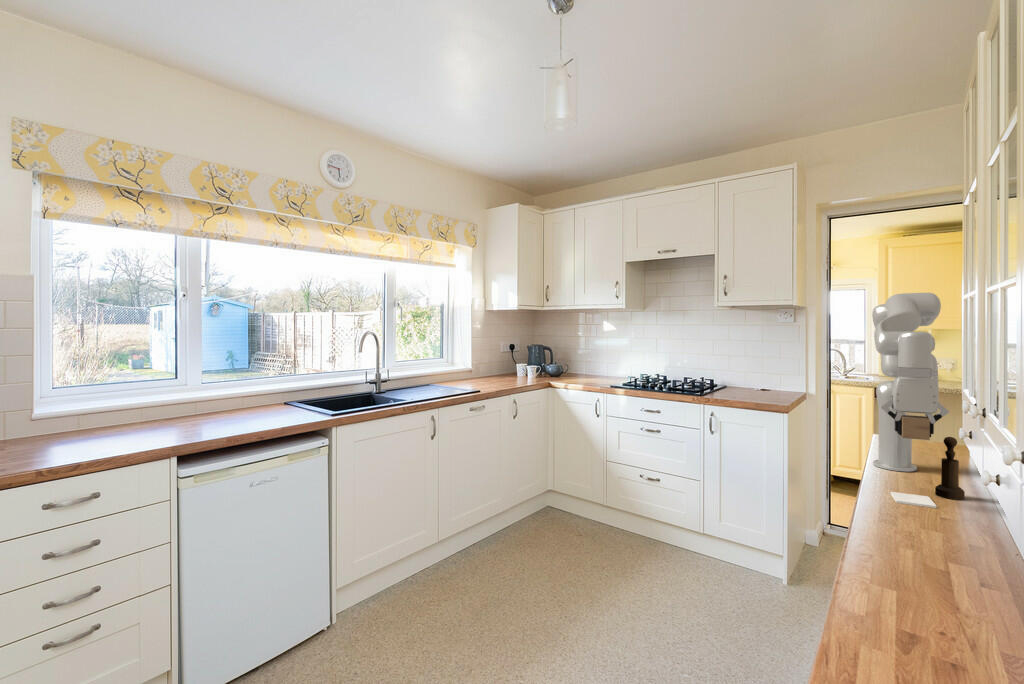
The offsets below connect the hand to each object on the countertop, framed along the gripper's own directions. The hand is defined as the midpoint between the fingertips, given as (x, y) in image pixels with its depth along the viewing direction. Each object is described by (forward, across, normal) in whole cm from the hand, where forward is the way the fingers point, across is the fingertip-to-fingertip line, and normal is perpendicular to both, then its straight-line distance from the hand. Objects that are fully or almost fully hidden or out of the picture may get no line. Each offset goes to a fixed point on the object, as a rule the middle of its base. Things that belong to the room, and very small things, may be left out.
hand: (913, 434), depth 142 cm
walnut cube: (+1, 0, 0) cm, 1 cm away
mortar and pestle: (+20, -10, -11) cm, 25 cm away
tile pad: (+20, 0, -1) cm, 20 cm away
